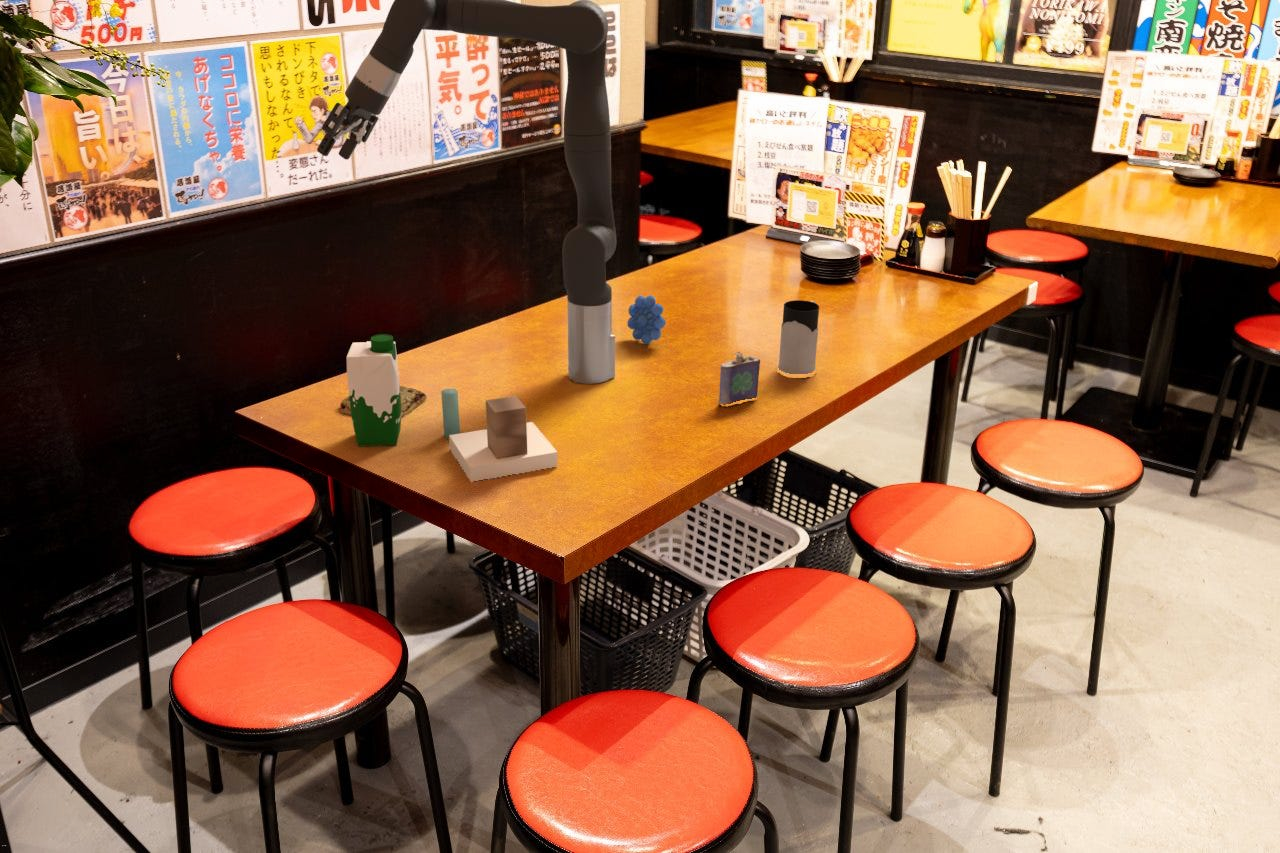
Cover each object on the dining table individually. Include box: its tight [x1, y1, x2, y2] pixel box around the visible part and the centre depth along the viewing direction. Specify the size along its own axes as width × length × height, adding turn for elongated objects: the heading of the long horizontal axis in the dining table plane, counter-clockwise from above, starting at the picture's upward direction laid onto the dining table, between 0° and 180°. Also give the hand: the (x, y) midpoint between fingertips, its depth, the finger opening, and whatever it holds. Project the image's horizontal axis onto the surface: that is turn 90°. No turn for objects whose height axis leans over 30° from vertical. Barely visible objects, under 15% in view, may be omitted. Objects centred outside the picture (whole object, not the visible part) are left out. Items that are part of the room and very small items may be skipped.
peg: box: [440, 388, 461, 440], centre depth 211 cm, size 3×3×9 cm
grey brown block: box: [485, 395, 527, 459], centre depth 198 cm, size 6×6×9 cm
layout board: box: [448, 421, 559, 482], centre depth 203 cm, size 16×14×3 cm
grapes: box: [627, 294, 666, 345], centre depth 257 cm, size 12×7×12 cm, turn 44°
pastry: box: [339, 385, 427, 418], centre depth 225 cm, size 17×17×3 cm
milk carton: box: [346, 333, 402, 447], centre depth 207 cm, size 9×9×20 cm
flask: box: [718, 351, 761, 405], centre depth 227 cm, size 9×3×11 cm, turn 121°
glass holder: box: [777, 299, 820, 374], centre depth 244 cm, size 9×14×15 cm, turn 155°
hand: (332, 155), depth 220 cm, fingers open, 8 cm apart
